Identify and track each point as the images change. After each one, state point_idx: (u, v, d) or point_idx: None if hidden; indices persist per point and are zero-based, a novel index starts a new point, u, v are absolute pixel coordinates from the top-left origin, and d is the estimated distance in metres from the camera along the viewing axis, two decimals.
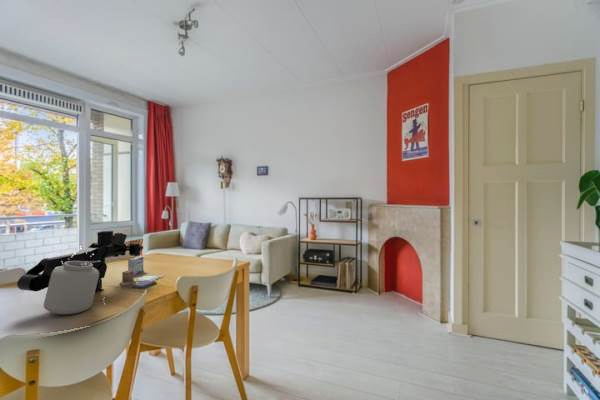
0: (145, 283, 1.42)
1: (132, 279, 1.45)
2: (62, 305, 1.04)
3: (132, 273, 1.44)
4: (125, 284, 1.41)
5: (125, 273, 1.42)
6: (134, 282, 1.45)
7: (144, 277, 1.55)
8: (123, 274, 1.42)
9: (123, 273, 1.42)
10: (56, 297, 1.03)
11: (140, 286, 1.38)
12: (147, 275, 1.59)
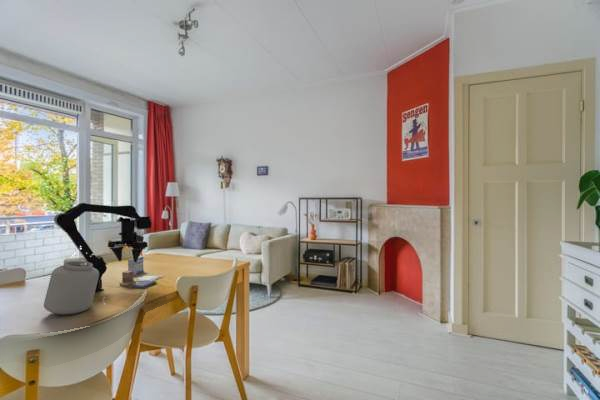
0: (145, 283, 1.42)
1: (132, 279, 1.45)
2: (62, 305, 1.04)
3: (132, 273, 1.44)
4: (125, 284, 1.41)
5: (125, 273, 1.42)
6: (134, 282, 1.45)
7: (144, 277, 1.55)
8: (123, 274, 1.42)
9: (123, 273, 1.42)
10: (56, 297, 1.03)
11: (140, 286, 1.38)
12: (147, 275, 1.59)
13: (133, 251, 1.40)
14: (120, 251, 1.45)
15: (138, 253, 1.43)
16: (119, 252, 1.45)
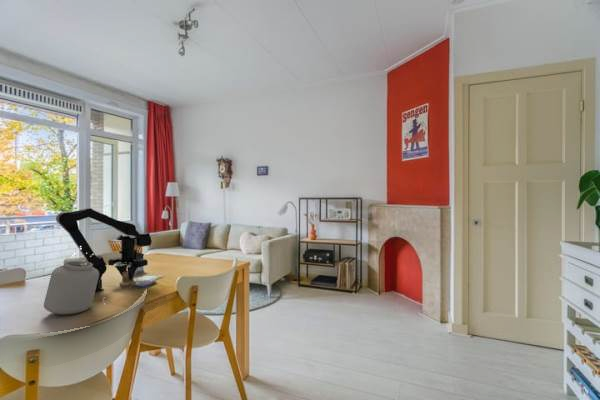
0: (145, 283, 1.42)
1: (132, 279, 1.45)
2: (62, 305, 1.04)
3: None
4: (125, 284, 1.41)
5: (125, 273, 1.42)
6: (134, 282, 1.45)
7: (144, 277, 1.55)
8: (123, 274, 1.42)
9: (123, 273, 1.42)
10: (56, 297, 1.03)
11: (140, 286, 1.38)
12: (147, 275, 1.59)
13: (128, 269, 1.40)
14: (125, 269, 1.45)
15: (134, 271, 1.44)
16: (124, 270, 1.44)
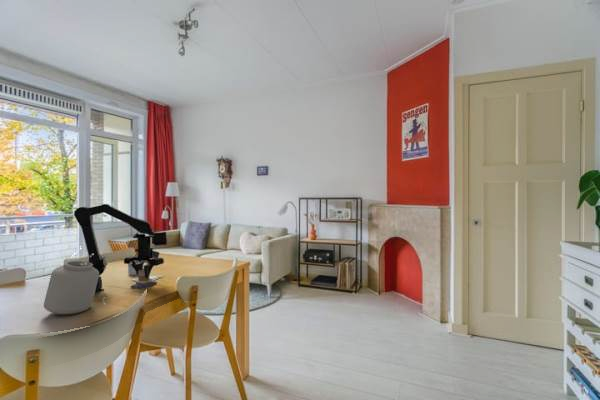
0: None
1: (148, 277, 1.43)
2: (62, 305, 1.04)
3: None
4: (141, 282, 1.40)
5: (141, 271, 1.41)
6: (150, 280, 1.43)
7: None
8: (139, 272, 1.41)
9: (139, 271, 1.41)
10: (56, 297, 1.03)
11: (140, 286, 1.38)
12: None
13: (145, 267, 1.39)
14: (140, 267, 1.43)
15: (150, 269, 1.42)
16: (140, 269, 1.42)
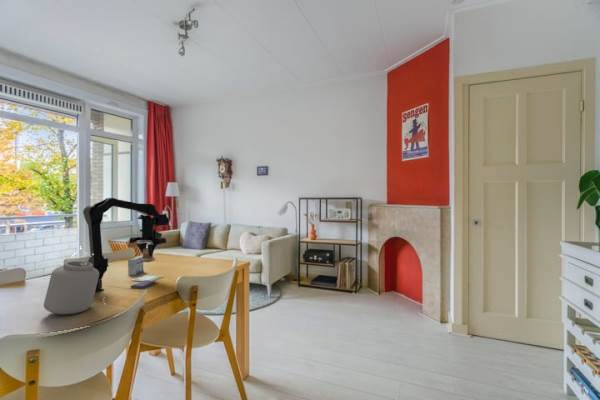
0: (145, 283, 1.42)
1: (152, 256, 1.55)
2: (62, 305, 1.04)
3: None
4: (145, 260, 1.51)
5: (145, 250, 1.52)
6: (153, 258, 1.55)
7: (144, 277, 1.55)
8: (143, 251, 1.53)
9: (143, 250, 1.53)
10: (56, 297, 1.03)
11: (140, 286, 1.38)
12: (147, 275, 1.59)
13: (149, 246, 1.51)
14: (145, 247, 1.55)
15: (153, 248, 1.54)
16: (144, 248, 1.54)
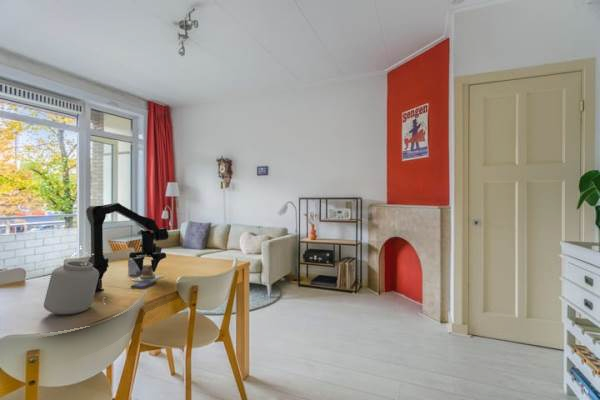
0: (145, 283, 1.42)
1: (151, 272, 1.55)
2: (62, 305, 1.04)
3: (151, 267, 1.55)
4: (145, 277, 1.52)
5: (145, 267, 1.52)
6: (153, 275, 1.55)
7: None
8: (143, 268, 1.53)
9: (143, 267, 1.53)
10: (56, 297, 1.03)
11: (140, 286, 1.38)
12: None
13: (152, 262, 1.50)
14: (141, 261, 1.55)
15: (156, 263, 1.53)
16: (140, 262, 1.55)
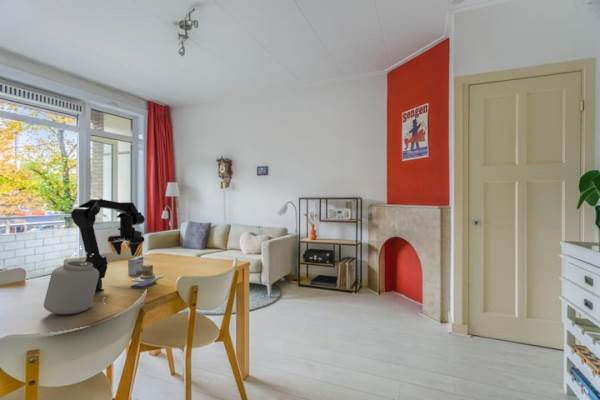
0: (145, 283, 1.42)
1: (151, 272, 1.55)
2: (62, 305, 1.04)
3: (151, 267, 1.55)
4: (145, 277, 1.52)
5: (145, 267, 1.52)
6: (153, 275, 1.55)
7: None
8: (143, 268, 1.53)
9: (143, 267, 1.53)
10: (56, 297, 1.03)
11: (140, 286, 1.38)
12: None
13: (130, 245, 1.49)
14: (119, 245, 1.54)
15: (135, 247, 1.52)
16: (118, 246, 1.54)
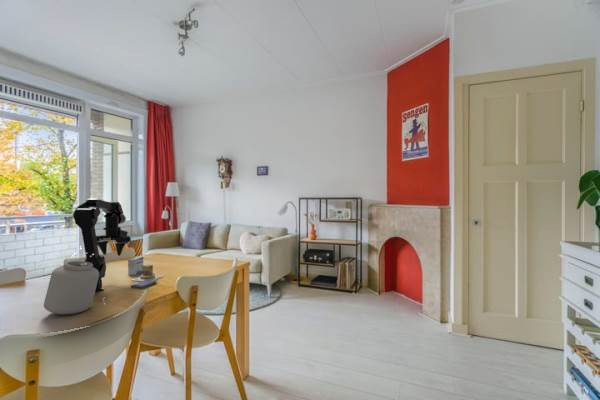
0: (145, 283, 1.42)
1: (151, 272, 1.55)
2: (62, 305, 1.04)
3: (151, 267, 1.55)
4: (145, 277, 1.52)
5: (145, 267, 1.52)
6: (153, 275, 1.55)
7: None
8: (143, 268, 1.53)
9: (143, 267, 1.53)
10: (56, 297, 1.03)
11: (140, 286, 1.38)
12: None
13: (116, 245, 1.48)
14: (105, 245, 1.54)
15: (121, 247, 1.51)
16: (104, 246, 1.53)
